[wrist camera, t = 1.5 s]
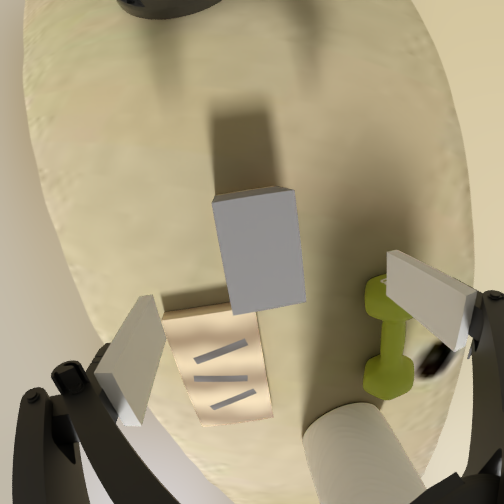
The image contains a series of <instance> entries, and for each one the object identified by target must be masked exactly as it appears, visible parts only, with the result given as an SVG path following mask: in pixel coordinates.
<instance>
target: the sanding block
mask: <svg viewBox="0 0 504 504" xmlns="http://www.w3.org/2000/svg"><path fill="white" fill-rule="evenodd" d="M212 208H213V213H214V219H215V224H216V230H217V235H218V241H219V246H220V252H221V257H222V262H223V267H224V272H225V278H226V283H227V288H228V293H229V298H230V303H231V307H232V312H233V316H234V315H240V314H246V313H251V312H257V311H262V310H268V309H273V308H278V307H284V306H289V305H294V304H298V303H303V302H306V293H305V282H304V271H303V261H302V251H301V241H300V232H299V224H298V215H297V207H296V199H295V191H294V190H292V189H288V188H283V187H279V186H269V187H262V188H256V189H249V190H243V191H237V192H231V193H225V194H219V195H215V197H214V199H213V201H212Z"/></svg>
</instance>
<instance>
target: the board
mask: <svg viewBox="0 0 504 504" xmlns="http://www.w3.org/2000/svg"><path fill="white" fill-rule="evenodd" d="M161 321H162V324H163V328H164V331H165V334H166V336H167V339H168V342H169V345H170V348H171V351H172V354H173V356H174V359H175V362H176V364H177V367H178V370H179V372H180V375H181V378H182V380H183V383H184V385H185V388H186V390H187V392H188V395H189V397H190V400H191V402H192V404H193V407H194V409H195V411H196V414H197V416H198V418H199V420H200V423H201V425H202V427H208V426H218V425H227V424H235V423H243V422H249V421H256V420H262V419H268V418H273V411H272V405H271V399H270V393H269V388H268V382H267V376H266V370H265V364H264V358H263V353H262V347H261V341H260V335H259V329H258V323H257V317H256V312H251V313H246V314H240V315H234V316H233V312H232V307H231V303H230V302H227V303H221V304H215V305H209V306H202V307H196V308H189V309H182V310H176V311H168V312H164V315H163V317H162V320H161Z"/></svg>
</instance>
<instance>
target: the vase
mask: <svg viewBox="0 0 504 504" xmlns="http://www.w3.org/2000/svg"><path fill="white" fill-rule="evenodd" d="M303 447H304V451H305V455H306V459H307V463H308V466H309V470H310V473H311V476H312V479H313V482H314V486H315V489H316V492H317V495H318V498H319V501H320V504H410V503H411V502H412V501H413V500H415V499H416V498H417V497H418V496H419V495H421V494H422V493H423V492H424V491H425V490H427V489H426V487H425V485H424V484H423V482H422V480H421V478H420V476H419V475H418V473H417V471H416V469H415V468H414V466H413V464H412V462H411V461H410V459H409V457H408V455H407V454H406V452H405V450H404V449H403V447H402V445H401V443H400V442H399V440H398V438H397V437H396V435H395V433H394V432H393V430H392V428H391V427H390V425H389V423H388V422H387V420H386V419H385V417H384V416H383V414H382V413H381V412H380V410H379V409H378V408H377V407H376V406H375V405H373V404H369V403H353V404H348V405H344V406H341V407H338V408H336V409H334V410H332V411H330V412H328V413H326V414H324V415H323V416H321V417H320V418H318V419H317V420H316V421H315V422H314V423H313V424H311V425H310V427H309V428H308V429H307V430H306V432H305V434H304V436H303Z"/></svg>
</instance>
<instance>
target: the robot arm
mask: <svg viewBox="0 0 504 504" xmlns="http://www.w3.org/2000/svg"><path fill="white" fill-rule="evenodd" d="M220 1H221V0H117V2H118V4H119V5H120V6H121V8H122V9H123V10H125V11H126V12H127V13H129V14H131V15H134V16H136V17H140V18H145V19H170V18H177V17H182V16H186V15H190V14H193V13H196V12H199V11H202V10H204V9H207V8H209V7H211V6H213V5H215V4H217V3H218V2H220ZM386 296H388V297H389V298H390V299H391V300H393V301H394V302H395V303H396V304H398V305H399V306H400V307H401V308H403V309H404V310H405V311H406V312H408V313H409V314H410V315H411V316H412V317H414V318H415V319H416V320H417V321H418V322H420V323H421V324H422V325H423V326H424V327H426V328H427V329H428V330H429V331H430V332H432V333H433V334H434V335H435V336H436V337H438V338H439V339H440V340H441V341H442V342H443V343H444V344H446V345H447V346H448V347H449V348H450V349H451V350H453V351H454V352H455V351H457V350H459V349H461V348H463V347H464V346H465V345H466V341H467V338H468V334H469V335H470V336H471V337H473V340H472V344H471V347H470V350H469V354H468V358H467V359H469V358H470V356H471V355H472V365H473V418H472V432H471V443H470V451H469V459H468V464H467V467H466V470H465V472H464V474H463V476H462V477H459V475H458V474H457V472H455V473H454V474H452V475H450V476H449V477H447V478H446V479H444V480H442V481H441V482H439V483H437V484H436V485H434V486H432V487H430V488H429V489H427V490H425V491H424V492H423V493H422V494H421V495H419V496H418V497H417V498H416V499H415V500H413V501H412V502H411V503H410V504H504V294H503V293H501V292H499V291H494V290H490V291H485V292H484V293H481V292H479V291H477V290H475V289H474V288H472V287H470V286H468V285H466V284H465V283H463V282H461V281H459V280H457V279H455V278H453V277H451V276H449V275H447V274H445V273H443V272H441V271H439V270H437V269H435V268H433V267H431V266H429V265H428V264H426V263H424V262H422V261H420V260H418V259H416V258H414V257H411V256H409V255H407V254H405V253H403V252H401V251H399V250H393V251H389V252H387V284H386ZM166 339H167V338H166V335H165V332H164V329H163V326H162V323H161V320H160V317H159V314H158V310H157V307H156V304H155V301H154V297H153V295H146V296H140V297H139V298H138V300H137V302H136V303H135V305H134V306H133V308H132V309H131V311H130V313H129V314H128V316H127V317H126V319H125V321H124V322H123V324H122V326H121V327H120V329H119V330H118V332H117V334H116V335H115V337H114V339H113V340H112V342H111V343H106V344H105V345H104V346H103V347H101V348H100V349H99V351H98V352H97V354H96V355H95V358H94V359H93V360H92V363H91V364H90V366H89V367H88V369H87V370H86V372H85V371H84V369H83V367H82V365H81V364H80V363H79V362H78V361H67V362H64V363H62V364H60V365H58V366H57V367H56V368H55V369H54V370H53V372H52V373H51V378H52V380H53V381H54V383H55V385H56V387H57V388H58V390H59V392H60V393H61V395H55V396H51V397H49V395H48V394H47V392H46V391H45V390H44V389H43V388H40V387H37V388H33V389H30V390H28V391H27V392H26V393H25V395H24V396H23V397H22V399H21V403H20V408H19V414H18V420H17V427H16V435H15V444H14V455H13V475H12V496H13V504H90V501H89V497H88V493H87V488H86V483H85V479H84V473H83V468H82V462H81V456H80V448H79V442H81V445H82V447H83V449H84V451H85V453H86V455H87V457H88V459H89V461H90V463H91V465H92V467H93V469H94V470H95V472H96V474H97V476H98V478H99V480H100V481H101V483H102V485H103V487H104V488H105V490H106V492H107V493H108V495H109V497H110V498H111V500H112V501H113V503H114V504H180V503H179V502H178V501H177V500H176V498H175V497H173V495H172V494H171V493H170V492H169V491H168V490H167V489H166V488H165V487H164V485H163V484H162V483H161V482H160V481H159V480H158V479H157V478H156V476H155V475H154V474H153V473H152V472H151V470H150V469H149V468H148V467H147V465H146V464H145V463H144V462H143V460H142V459H141V458H140V457H139V456H138V454H137V453H136V451H135V450H134V449H133V447H132V446H131V445H130V443H129V442H128V441H127V439H126V438H125V436H124V435H123V433H122V432H121V430H120V429H119V428H118V426H117V425H116V421H117V419H118V416H119V418H120V419H121V421H122V422H123V424H124V426H142V423H143V419H144V415H145V411H146V407H147V404H148V400H149V397H150V393H151V389H152V386H153V382H154V379H155V375H156V372H157V368H158V365H159V362H160V358H161V355H162V352H163V348H164V345H165V342H166Z"/></svg>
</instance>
